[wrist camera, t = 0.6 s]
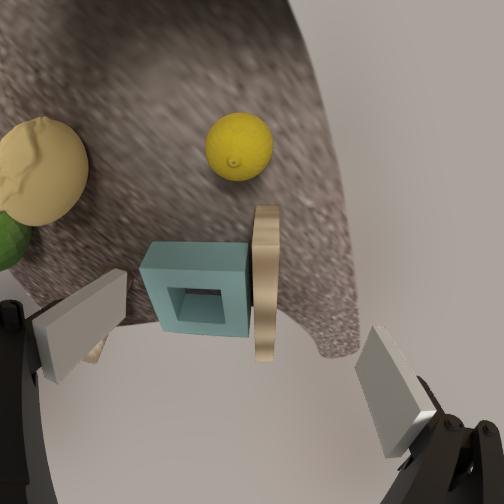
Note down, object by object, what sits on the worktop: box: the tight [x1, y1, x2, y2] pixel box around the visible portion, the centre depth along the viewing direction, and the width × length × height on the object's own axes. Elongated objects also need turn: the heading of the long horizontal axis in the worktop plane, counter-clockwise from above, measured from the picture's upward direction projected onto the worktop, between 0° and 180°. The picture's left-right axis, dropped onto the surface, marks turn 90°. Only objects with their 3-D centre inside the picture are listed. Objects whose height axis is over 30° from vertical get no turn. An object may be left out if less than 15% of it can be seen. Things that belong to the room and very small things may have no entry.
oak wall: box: [252, 205, 280, 362], centre depth 34 cm, size 20×2×7 cm, turn 1°
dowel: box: [82, 263, 133, 364], centre depth 33 cm, size 4×4×14 cm
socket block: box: [139, 241, 251, 337], centre depth 36 cm, size 12×12×5 cm
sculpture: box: [0, 116, 88, 226], centre depth 23 cm, size 12×12×11 cm
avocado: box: [0, 211, 32, 271], centre depth 29 cm, size 8×8×12 cm
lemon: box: [205, 113, 273, 181], centre depth 23 cm, size 6×6×8 cm
